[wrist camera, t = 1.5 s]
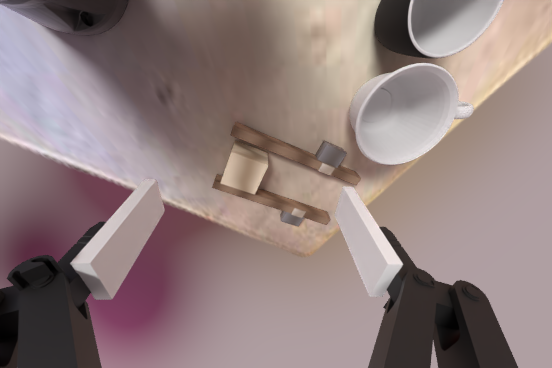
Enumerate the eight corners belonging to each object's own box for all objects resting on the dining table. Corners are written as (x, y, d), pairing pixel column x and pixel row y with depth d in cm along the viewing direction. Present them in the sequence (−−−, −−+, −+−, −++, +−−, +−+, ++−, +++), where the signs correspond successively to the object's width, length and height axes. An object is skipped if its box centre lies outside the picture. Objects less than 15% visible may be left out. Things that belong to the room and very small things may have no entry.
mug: (379, 70, 31) (423, 78, 23) (353, 8, 27) (393, -13, 19) (464, 8, 28) (554, -11, 19) (449, -74, 24) (553, -145, 15)
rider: (225, 168, 39) (220, 183, 35) (235, 140, 36) (231, 151, 32) (255, 179, 40) (254, 194, 36) (267, 152, 37) (268, 165, 33)
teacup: (417, 133, 37) (463, 158, 28) (331, 143, 37) (352, 170, 29) (438, 52, 30) (505, 52, 22) (334, 65, 31) (362, 70, 22)
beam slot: (210, 192, 41) (207, 201, 39) (241, 103, 33) (239, 107, 30) (316, 226, 47) (319, 235, 45) (365, 158, 39) (372, 165, 37)
